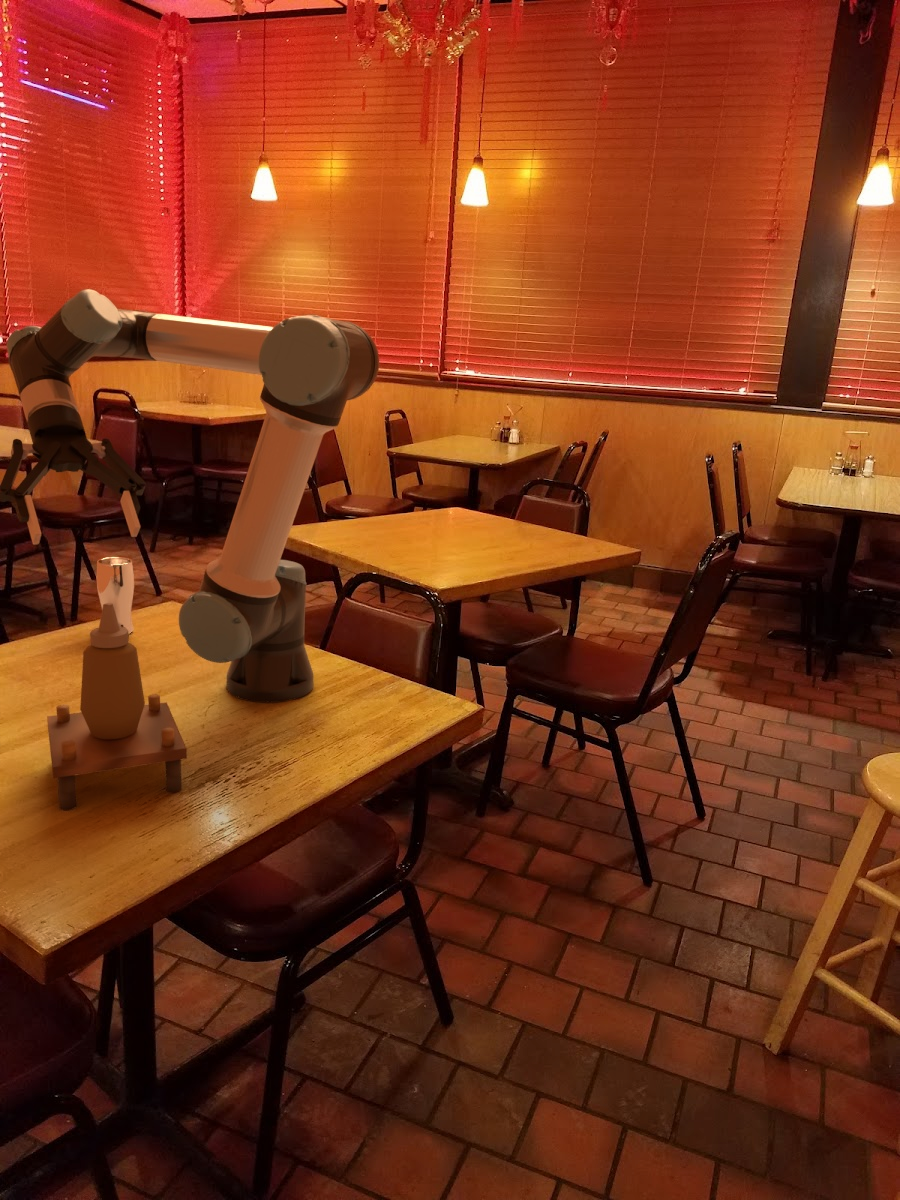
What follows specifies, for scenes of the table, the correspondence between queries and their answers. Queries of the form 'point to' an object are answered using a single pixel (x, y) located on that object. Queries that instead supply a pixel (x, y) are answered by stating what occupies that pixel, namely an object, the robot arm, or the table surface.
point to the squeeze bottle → (111, 680)
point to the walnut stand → (113, 748)
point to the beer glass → (117, 587)
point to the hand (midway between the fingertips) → (88, 535)
